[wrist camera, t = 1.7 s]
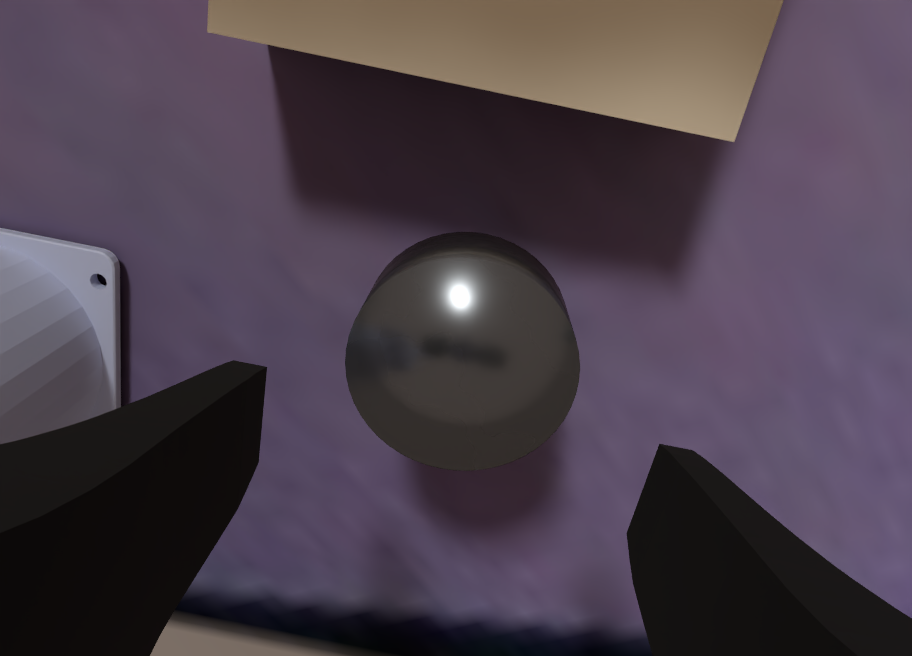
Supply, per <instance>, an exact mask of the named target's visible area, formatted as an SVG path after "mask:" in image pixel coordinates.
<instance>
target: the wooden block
mask: <svg viewBox="0 0 912 656" xmlns="http://www.w3.org/2000/svg"><path fill="white" fill-rule="evenodd" d="M782 3H783V0H209V4H208V28H207V32H210V33H215V34H220V35H224V36H229V37H234V38H239V39H243V40H248V41H253V42H258V43H263V44H267V45H272V46H277V47H282V48H286V49H291V50H296V51H301V52H306V53H310V54H315V55H320V56H325V57H330V58H334V59H339V60H344V61H349V62H353V63H358V64H363V65H368V66H373V67H377V68H382V69H387V70H392V71H396V72H401V73H406V74H411V75H416V76H420V77H425V78H430V79H435V80H439V81H444V82H449V83H454V84H459V85H463V86H468V87H473V88H478V89H482V90H487V91H492V92H497V93H502V94H506V95H511V96H516V97H521V98H526V99H530V100H535V101H540V102H545V103H549V104H554V105H559V106H564V107H569V108H573V109H578V110H583V111H588V112H592V113H597V114H602V115H607V116H612V117H616V118H621V119H626V120H631V121H635V122H640V123H645V124H650V125H655V126H659V127H664V128H669V129H674V130H679V131H683V132H688V133H693V134H698V135H702V136H707V137H712V138H717V139H722V140H726V141H731V142H734V141H735V138H736V135H737V133H738V130H739V127H740V124H741V121H742V118H743V115H744V112H745V110H746V107H747V104H748V101H749V98H750V95H751V92H752V90H753V87H754V84H755V81H756V78H757V75H758V72H759V69H760V67H761V64H762V61H763V58H764V55H765V52H766V49H767V46H768V44H769V41H770V38H771V35H772V32H773V29H774V26H775V23H776V21H777V18H778V15H779V12H780V9H781V6H782Z"/></svg>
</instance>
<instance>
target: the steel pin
mask: <svg viewBox="0 0 912 656" xmlns="http://www.w3.org/2000/svg"><path fill="white" fill-rule="evenodd" d="M345 366H346V378H347V382H348V387H349V391H350V393H351V396H352V399H353V401H354V404H355V406H356V407H357V409H358V411H359V413H360V415H361V416H362V418H363V419H364V421H365V422H366V423H367V425H368V426H369V427H370V428H371V429H372V431H373V432H374V433H375V434H376V435H377V436H378V437H379V438H380V439H382V440H383V441H384V442H385V443H386V444H387V445H389V446H390V447H392V448H393V449H395V450H396V451H398V452H399V453H401V454H403V455H405V456H407V457H409V458H411V459H412V460H415V461H418V462H420V463H423V464H426V465H429V466H433V467H437V468H442V469H449V470H464V471H470V470H482V469H488V468H493V467H497V466H501V465H504V464H507V463H510V462H512V461H515V460H517V459H519V458H521V457H523V456H525V455H527V454H528V453H530V452H532V451H533V450H535V449H536V448H538V447H539V446H540V445H541V444H543V443H544V442H545V441H546V440H547V439H548V438H549V437H550V436H551V435H552V434H553V433H554V432H555V431H556V430H557V429H558V427H559V426H560V425H561V423H562V422H563V421H564V419H565V417H566V415H567V414H568V412H569V410H570V408H571V406H572V403H573V401H574V398H575V395H576V392H577V387H578V383H579V373H580V361H579V351H578V347H577V342H576V338H575V335H574V331H573V328H572V325H571V322H570V318H569V315H568V312H567V308H566V305H565V302H564V299H563V297H562V294H561V291H560V289H559V287H558V286H557V284H556V282H555V280H554V278H553V277H552V276H551V274H550V273H549V272H548V270H547V269H546V268H545V267H544V266H543V265H542V264H541V263H540V262H539V261H538V260H537V259H536V258H535V257H534V256H532V255H531V254H530V253H528V252H527V251H526V250H524V249H523V248H521V247H519V246H517V245H516V244H514V243H512V242H509V241H507V240H505V239H502V238H500V237H496V236H492V235H488V234H483V233H476V232H454V233H446V234H441V235H437V236H434V237H430V238H428V239H425V240H423V241H420V242H418V243H416V244H414V245H413V246H411V247H409V248H407V249H406V250H404V251H403V252H402V253H400V254H399V255H398V256H396V257H395V258H394V259H393V260H392V261H391V262H390V263H389V264H388V265H387V266H386V268H385V269H384V270H383V272H382V273H381V274H380V276H379V277H378V279H377V280H376V282H375V284H374V286H373V288H372V290H371V291H370V293H369V295H368V297H367V299H366V301H365V303H364V305H363V306H362V308H361V310H360V312H359V314H358V316H357V318H356V319H355V321H354V324H353V326H352V329H351V332H350V334H349V338H348V343H347V347H346V359H345Z"/></svg>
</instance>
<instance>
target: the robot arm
mask: <svg viewBox="0 0 912 656" xmlns="http://www.w3.org/2000/svg"><path fill="white" fill-rule="evenodd" d="M97 274H100V275H102V276H103V277H104V278H105V279H106V282H107V285H106V286H105V285H103V284H101V283H100V282H99V281H98V278H97ZM266 372H267V367H264V366H259V365H254V364H249V363H244V362H239V361H234V360H233V361H230V362H227V363H224V364H222V365H219V366H217V367H215V368H212V369H210V370H208V371H205V372H203V373H201V374H199V375H196V376H194V377H192V378H190V379H187V380H185V381H183V382H180V383H178V384H176V385H174V386H171V387H169V388H167V389H164V390H162V391H160V392H157V393H155V394H153V395H151V396H148V397H146V398H143V399H141V400H138V401H135V402H133V403H130V404H127V405H125V406H122V407H121V349H120V265H119V260H118V259H117V257H116V256H115V255H114V254H113V253H112V252H111V251H109V250H107V249H104V248H99V247H94V246H89V245H84V244H79V243H74V242H69V241H64V240H59V239H54V238H49V237H44V236H39V235H34V234H29V233H24V232H19V231H14V230H9V229H4V228H0V656H150V654H151V652H152V650H153V648H154V646H155V644H156V642H157V640H158V638H159V636H160V634H161V633H162V631H163V629H164V627H165V626H166V624H167V622H168V620H169V619H170V617H171V615H172V613H173V612H174V610H175V608H176V607H177V605H178V604H179V602H180V600H181V599H182V597H183V596H184V594H185V593H186V591H187V589H188V588H189V586H190V585H191V583H192V581H193V580H194V578H195V577H196V575H197V573H198V572H199V570H200V569H201V567H202V565H203V564H204V562H205V561H206V559H207V558H208V556H209V554H210V553H211V551H212V550H213V548H214V546H215V545H216V543H217V542H218V540H219V538H220V537H221V535H222V534H223V532H224V530H225V529H226V527H227V525H228V524H229V522H230V521H231V519H232V517H233V516H234V514H235V512H236V511H237V509H238V507H239V505H240V503H241V501H242V498H243V496H244V494H245V492H246V490H247V488H248V485H249V483H250V481H251V479H252V476H253V474H254V472H255V469H256V467H257V465H258V462H259V451H260V440H261V429H262V417H263V406H264V395H265V383H266ZM627 540H628V549H629V558H630V565H631V572H632V579H633V585H634V589H635V593H636V597H637V600H638V604H639V608H640V611H641V615H642V619H643V622H644V626H645V630H646V633H647V637H648V640H649V644H650V647H651V651H652V654H653V656H912V618H910V617H908V616H907V615H905V614H904V613H902V612H901V611H899V610H897V609H896V608H894V607H893V606H891V605H890V604H888V603H887V602H885V601H884V600H883V599H881V598H880V597H878V596H877V595H875V594H874V593H872V592H871V591H869V590H868V589H866V588H865V587H863V586H862V585H861V584H859V583H858V582H856V581H855V580H853V579H852V578H850V577H849V576H848V575H846V574H845V573H844V572H842V571H841V570H839V569H838V568H837V567H835V566H834V565H833V564H831V563H830V562H829V561H827V560H826V559H825V558H824V557H822V556H821V555H820V554H818V553H817V552H816V551H815V550H813V549H812V548H811V547H809V546H808V545H807V544H806V543H804V542H803V541H802V540H800V539H799V538H798V537H797V536H796V535H794V534H793V533H792V532H791V531H789V530H788V529H787V528H786V527H785V526H783V525H782V524H781V523H780V522H779V521H777V520H776V519H775V518H774V517H773V516H771V515H770V514H769V513H768V512H767V511H766V510H764V509H763V508H762V507H761V506H760V505H759V504H757V503H756V502H755V501H754V500H753V499H752V498H750V497H749V496H748V495H747V494H746V493H745V492H743V491H742V490H741V489H740V488H739V487H738V486H737V485H735V484H734V483H733V482H732V481H731V480H730V479H728V478H727V477H726V476H725V475H724V474H723V473H721V472H720V471H719V470H718V469H717V468H715V467H714V466H713V465H712V464H711V463H709V462H708V461H707V460H705V459H704V458H703V457H701V456H700V455H699V454H697V453H696V452H694V451H693V450H688V449H683V448H678V447H673V446H668V445H663V444H659V447H658V449H657V452H656V455H655V458H654V460H653V463H652V466H651V468H650V471H649V474H648V477H647V479H646V482H645V485H644V488H643V490H642V493H641V496H640V498H639V501H638V504H637V507H636V509H635V512H634V515H633V517H632V520H631V523H630V526H629V528H628V531H627Z"/></svg>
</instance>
